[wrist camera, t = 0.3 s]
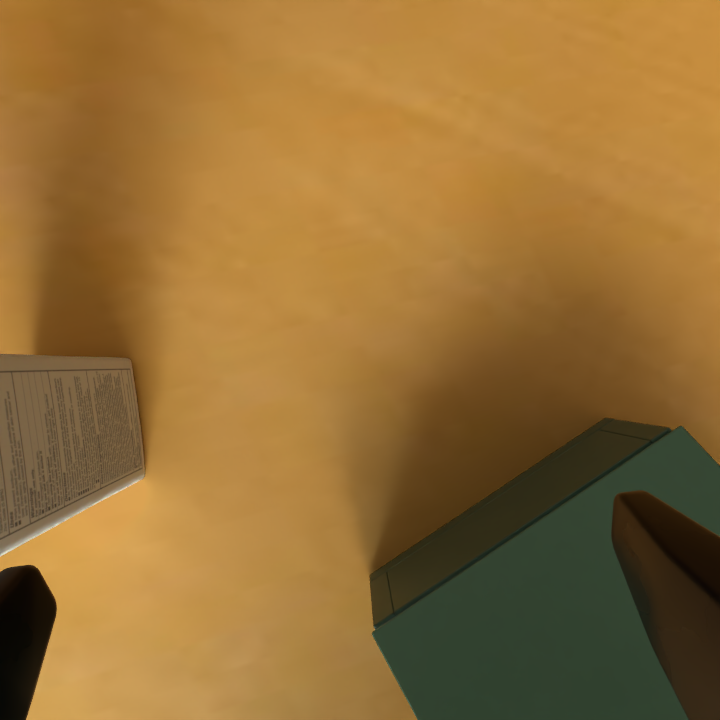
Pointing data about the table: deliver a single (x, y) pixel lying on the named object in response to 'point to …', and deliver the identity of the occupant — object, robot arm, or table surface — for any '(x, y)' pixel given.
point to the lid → (552, 612)
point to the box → (63, 439)
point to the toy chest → (506, 514)
